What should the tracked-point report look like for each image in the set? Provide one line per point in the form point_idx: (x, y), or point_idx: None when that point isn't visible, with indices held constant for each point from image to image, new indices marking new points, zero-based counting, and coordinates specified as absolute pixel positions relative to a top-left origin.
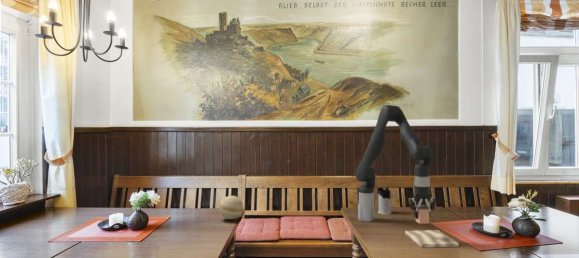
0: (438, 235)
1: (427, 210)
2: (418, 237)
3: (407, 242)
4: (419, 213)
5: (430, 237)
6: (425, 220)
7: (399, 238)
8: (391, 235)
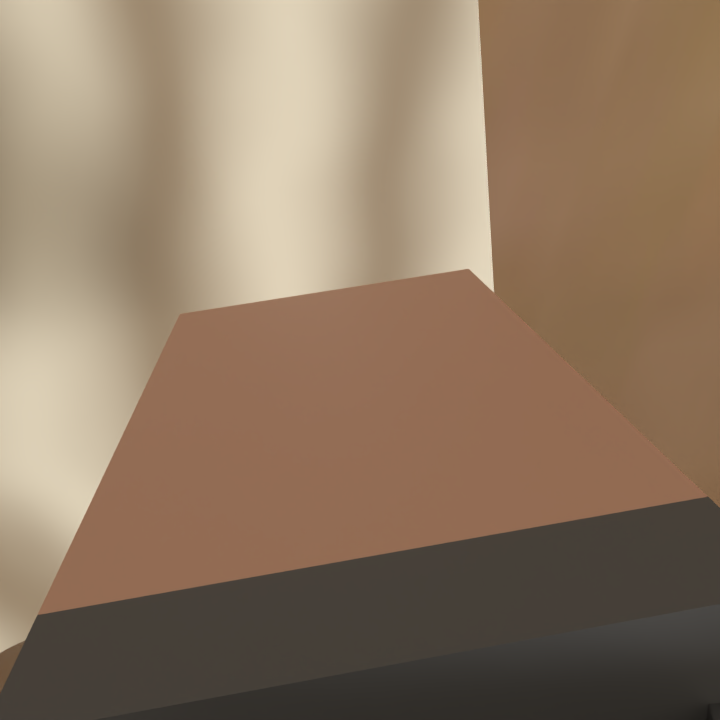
0: (32, 410)
1: (169, 549)
2: (400, 269)
3: (598, 138)
4: (590, 391)
5: (192, 286)
6: (294, 324)
7: (650, 328)
8: (710, 448)
